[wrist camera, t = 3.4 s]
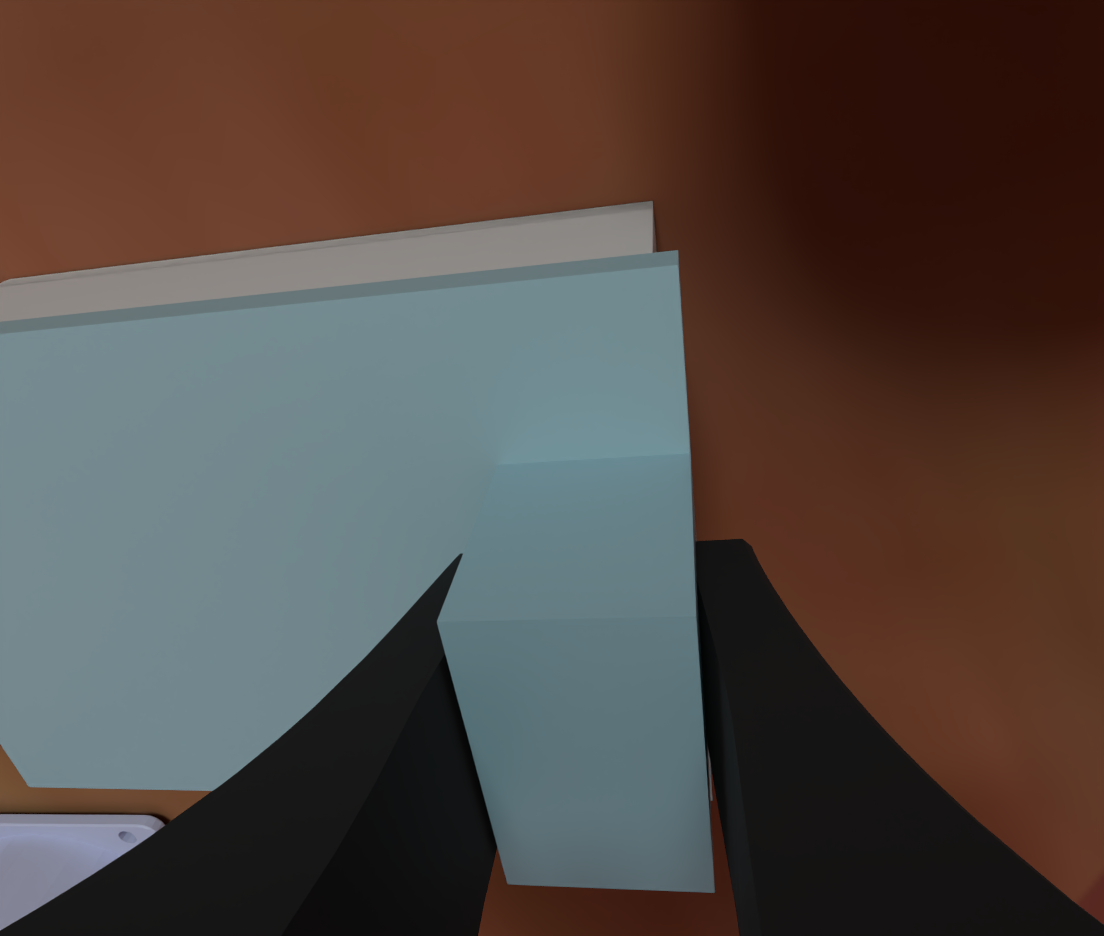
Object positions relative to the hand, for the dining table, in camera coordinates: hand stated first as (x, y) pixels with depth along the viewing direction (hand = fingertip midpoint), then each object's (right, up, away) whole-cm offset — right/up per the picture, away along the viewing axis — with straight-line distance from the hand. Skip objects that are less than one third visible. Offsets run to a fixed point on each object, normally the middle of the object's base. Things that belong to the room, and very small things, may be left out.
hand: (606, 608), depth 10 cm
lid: (-5, +1, +2) cm, 5 cm away
